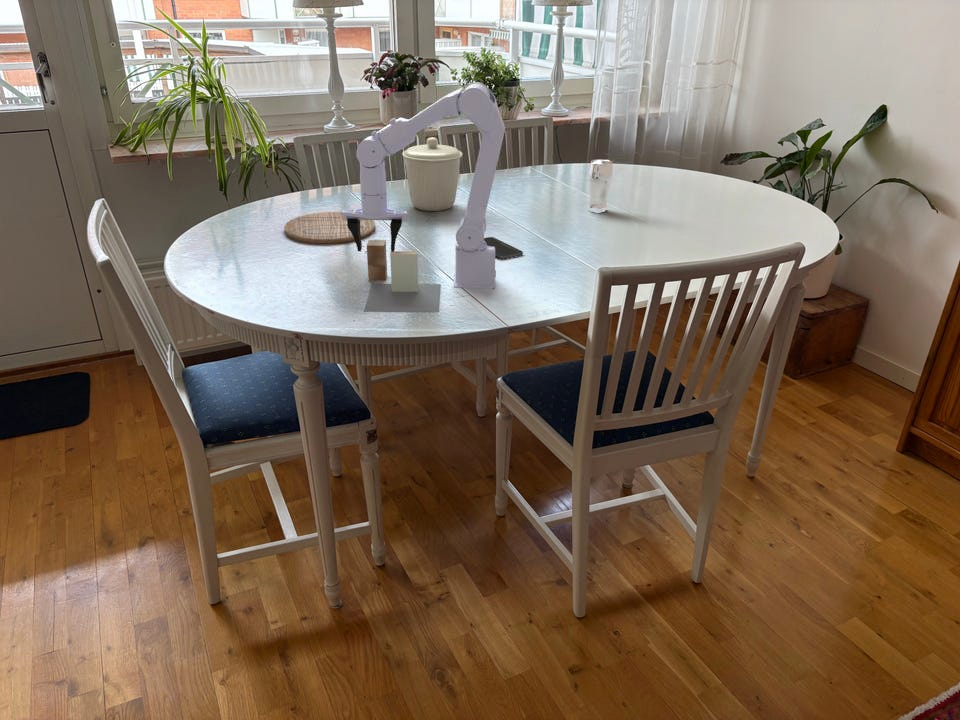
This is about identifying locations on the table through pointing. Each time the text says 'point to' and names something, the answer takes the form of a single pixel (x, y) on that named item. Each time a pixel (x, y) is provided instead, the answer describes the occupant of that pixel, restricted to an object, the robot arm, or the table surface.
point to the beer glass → (599, 182)
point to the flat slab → (404, 271)
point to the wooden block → (377, 260)
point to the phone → (502, 248)
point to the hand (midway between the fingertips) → (376, 250)
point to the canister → (432, 175)
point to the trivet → (325, 228)
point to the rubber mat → (403, 299)
